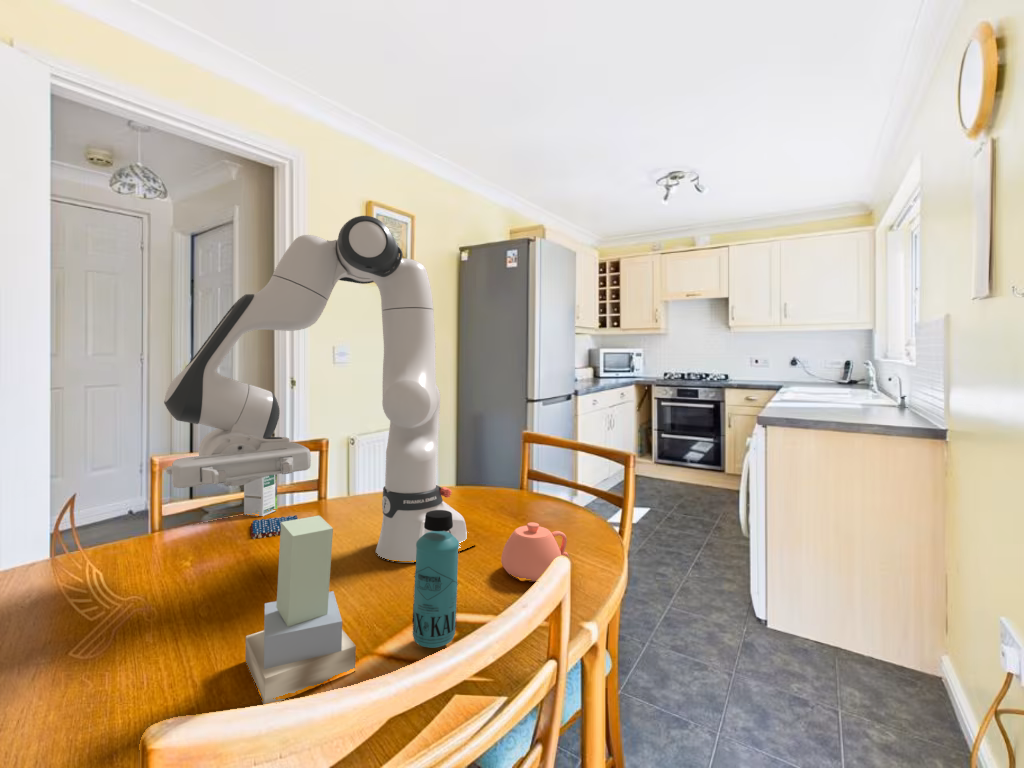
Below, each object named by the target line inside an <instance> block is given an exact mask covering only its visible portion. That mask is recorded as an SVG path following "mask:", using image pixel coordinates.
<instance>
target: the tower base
mask: <svg viewBox="0 0 1024 768" xmlns="http://www.w3.org/2000/svg"><path fill="white" fill-rule="evenodd" d="M356 648H357V646H356V644H355V643H354V642H353V641H352V639H351V638H350V637H349V636H348V634H347V633H346V632H345V630H344V629H342V651H339V652H335V653H331V654H327V655H322V656H318V657H314V658H310V659H305V660H301V661H297V662H293V663H289V664H284V665H280V666H276V667H272V668H268V669H264V630H261V631H258V632H255V633H252V634H248V635H245V660H246V662H245V664H246V663H247V664H246V666H247V665H248V667H249V669H248V671H249V670H250V671H249V673H250V672H251V674H250V676H251V675H252V676H251V678H252V677H253V679H254V681H255V683H256V685H257V687H258V689H259V691H260V693H261V697H262V699H263V701H262V700H261V702H262V705H263V704H266V703H270V702H275V701H281V700H284V701H286V700H285V699H278V700H276V699H275V698H276V697H279V696H283V695H285V694H288V693H295V692H296V691H298V690H302V689H304V688H306V687H308V686H314V685H317V684H320V683H323V682H324V681H327V680H328V679H330V678H332V677H333V676H335V675H338V674H340V673H343V672H347V671H349V670H350V669H353V668H355V669H356V657H357V656H356V650H357V649H356ZM248 667H247V668H248ZM253 679H252V680H253ZM254 681H253V682H254ZM255 683H254V684H255ZM273 698H274V699H273ZM289 699H290V698H288V699H287V700H289ZM281 702H282V701H281Z"/></svg>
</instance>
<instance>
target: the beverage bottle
mask: <svg viewBox="0 0 1024 768" xmlns="http://www.w3.org/2000/svg"><path fill="white" fill-rule="evenodd" d="M452 527H453V522H452V513H451V512H449V511H446V510H433V511H429V512H427V513H426V516H425V523H424V528H425V529H427V530H430V531H431V532H427V533H425V534H424V535H423V536H422V537H420V538H419V539H418V541H417V543H416V563H415V570H414V571H415V572H414V573H413V575H414V585H413V592H412V593H413V595H412V596H413V602H412V604H413V605H412V620H411V621H412V625H411V627H412V631H411V633H412V637H413V641H414V642H415V643H416V644H417V645H419V646H421V647H424V648H433V649H434V648H441V647H444V646H446V645H448V644H450V643H451V642H452V641H453V640H454V637H455V634H456V631H457V623H458V622H457V620H458V617H457V603H458V585H459V583H458V570H459V569H458V566H459V553H458V547H459V542H458V540H457V539H456V538H455V537H454V536H453V535H452V534H451V533H449V532H446V530H449V529H451V528H452Z"/></svg>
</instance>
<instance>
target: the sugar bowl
mask: <svg viewBox="0 0 1024 768" xmlns="http://www.w3.org/2000/svg"><path fill="white" fill-rule="evenodd" d="M557 536H561V545H560V546H559V544H558V542H557V540H556V538H555V537H557ZM567 542H568V540H567V535H566V534H565V533H564V532H562V531H560V530H555V531H552V532H551V531H550V529H548V528H546V527H543V526H540V524H539V522H538V523H537V522H527V524H526V525H523V526H522V525H521V526H519V527H517V528H515V529H514V531H513V532H512V533H511V534H510V536H509V538H508V539H507V541H506V542H505V545H504V546H503V550H502V554H501V560H500V561H501V565H502V567H503V568H504V570H505V571H506V572H507V574H509V575H510V574H511V575H513V576H515V577H519V578H526V579H531V580H532V581H531V582H537V581H536V580H537V579H538V578H539V577H540V575H541V574H542V573H543V572H544V571H545V569H546V568H547V567H548V566H549V565H550V563H551V562H552V561H553V559H554V558H556V557H557V556H560V555H563V556H564V557H565V556H568V557H570V556H569V554H568V552H567V551H565V550H566V548H567ZM511 575H510V576H511Z"/></svg>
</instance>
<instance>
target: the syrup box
mask: <svg viewBox="0 0 1024 768" xmlns="http://www.w3.org/2000/svg"><path fill="white" fill-rule="evenodd" d="M273 509H277V510H278V474H276V475H270V476H266V477H263V478H260V479H257V480H254V481H251V482H249V483H247V484H244V485H243V512H244V513H243V514H244V515H245V516H247V515H246V514H250V515H255V514H259V516H263V517H265V516H267V515H269V514H271V513H274V512H277V511H276V510H273ZM267 510H268V511H267ZM270 510H271V511H270ZM258 512H259V513H258ZM252 513H255V514H252Z"/></svg>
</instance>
